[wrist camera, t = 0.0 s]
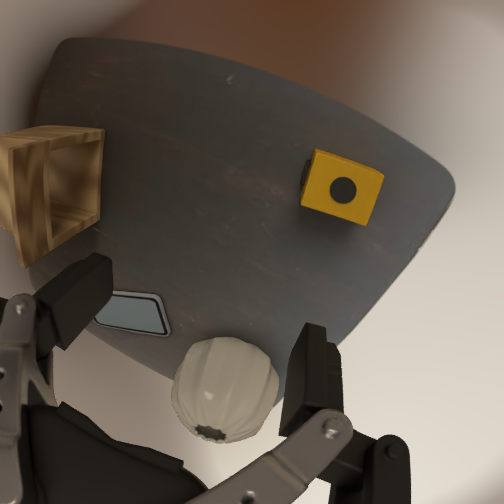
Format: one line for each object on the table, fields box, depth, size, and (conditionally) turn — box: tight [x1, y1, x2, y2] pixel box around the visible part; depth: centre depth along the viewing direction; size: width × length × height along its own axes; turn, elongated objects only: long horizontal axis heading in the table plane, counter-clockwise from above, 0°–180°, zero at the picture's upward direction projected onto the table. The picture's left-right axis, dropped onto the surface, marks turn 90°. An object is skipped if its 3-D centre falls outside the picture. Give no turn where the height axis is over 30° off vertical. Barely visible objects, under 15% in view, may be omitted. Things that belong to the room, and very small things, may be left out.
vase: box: [171, 337, 279, 443], centre depth 34 cm, size 14×14×13 cm
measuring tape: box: [301, 149, 384, 226], centre depth 25 cm, size 5×7×4 cm
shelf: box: [0, 125, 106, 269], centre depth 25 cm, size 12×12×14 cm
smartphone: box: [93, 291, 171, 337], centre depth 39 cm, size 7×1×15 cm
